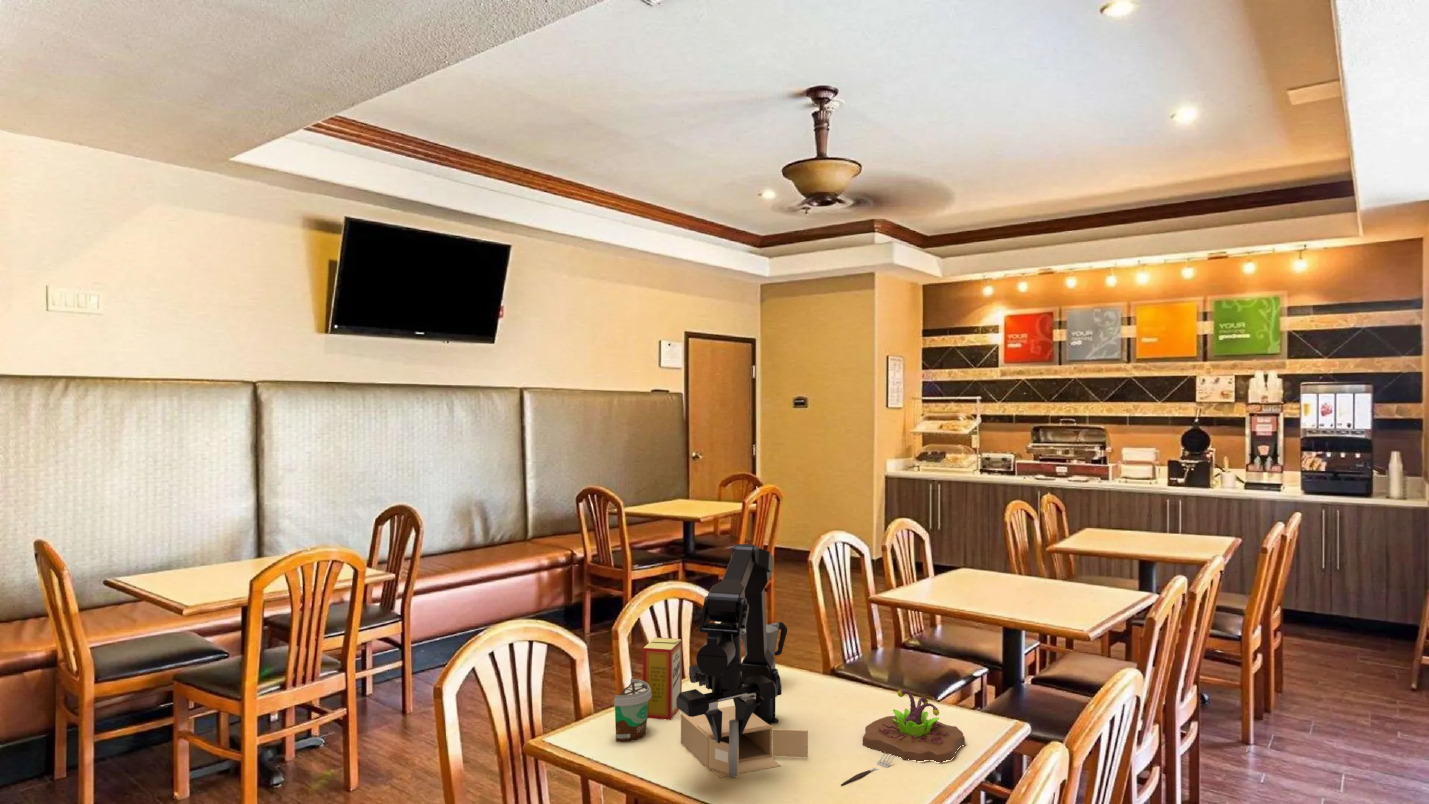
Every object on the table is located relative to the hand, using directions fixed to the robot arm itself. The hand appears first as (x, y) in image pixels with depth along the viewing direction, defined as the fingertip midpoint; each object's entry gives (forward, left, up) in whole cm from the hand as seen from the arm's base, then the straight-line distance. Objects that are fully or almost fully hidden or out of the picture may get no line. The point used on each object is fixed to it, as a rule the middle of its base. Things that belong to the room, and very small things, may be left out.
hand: (728, 739), depth 158 cm
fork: (-25, +8, -8) cm, 28 cm away
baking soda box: (-1, -39, -7) cm, 39 cm away
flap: (0, -2, -7) cm, 7 cm away
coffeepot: (-30, -45, -7) cm, 54 cm away
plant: (-43, -1, -8) cm, 44 cm away
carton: (-8, -10, -7) cm, 15 cm away
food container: (+9, -28, -7) cm, 30 cm away
